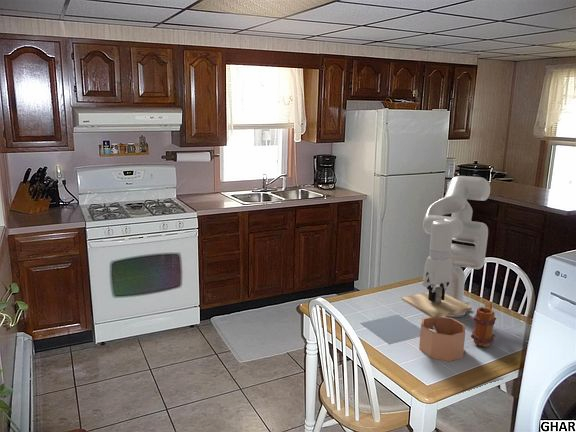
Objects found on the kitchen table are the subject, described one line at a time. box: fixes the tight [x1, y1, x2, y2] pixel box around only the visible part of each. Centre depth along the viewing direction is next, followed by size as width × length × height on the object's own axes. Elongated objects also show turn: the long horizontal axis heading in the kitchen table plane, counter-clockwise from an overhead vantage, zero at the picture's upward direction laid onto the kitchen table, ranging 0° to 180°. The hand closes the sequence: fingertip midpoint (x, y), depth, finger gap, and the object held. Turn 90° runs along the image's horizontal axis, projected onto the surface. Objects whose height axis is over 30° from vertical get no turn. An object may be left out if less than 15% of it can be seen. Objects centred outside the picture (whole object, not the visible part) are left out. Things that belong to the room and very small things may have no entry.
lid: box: [401, 285, 473, 319], centre depth 176 cm, size 18×18×7 cm
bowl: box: [418, 316, 466, 362], centre depth 177 cm, size 16×16×10 cm
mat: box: [360, 314, 421, 345], centre depth 194 cm, size 20×20×1 cm
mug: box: [470, 301, 497, 347], centre depth 183 cm, size 15×8×15 cm, turn 148°
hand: (436, 299), depth 177 cm, fingers closed on lid, 3 cm apart
